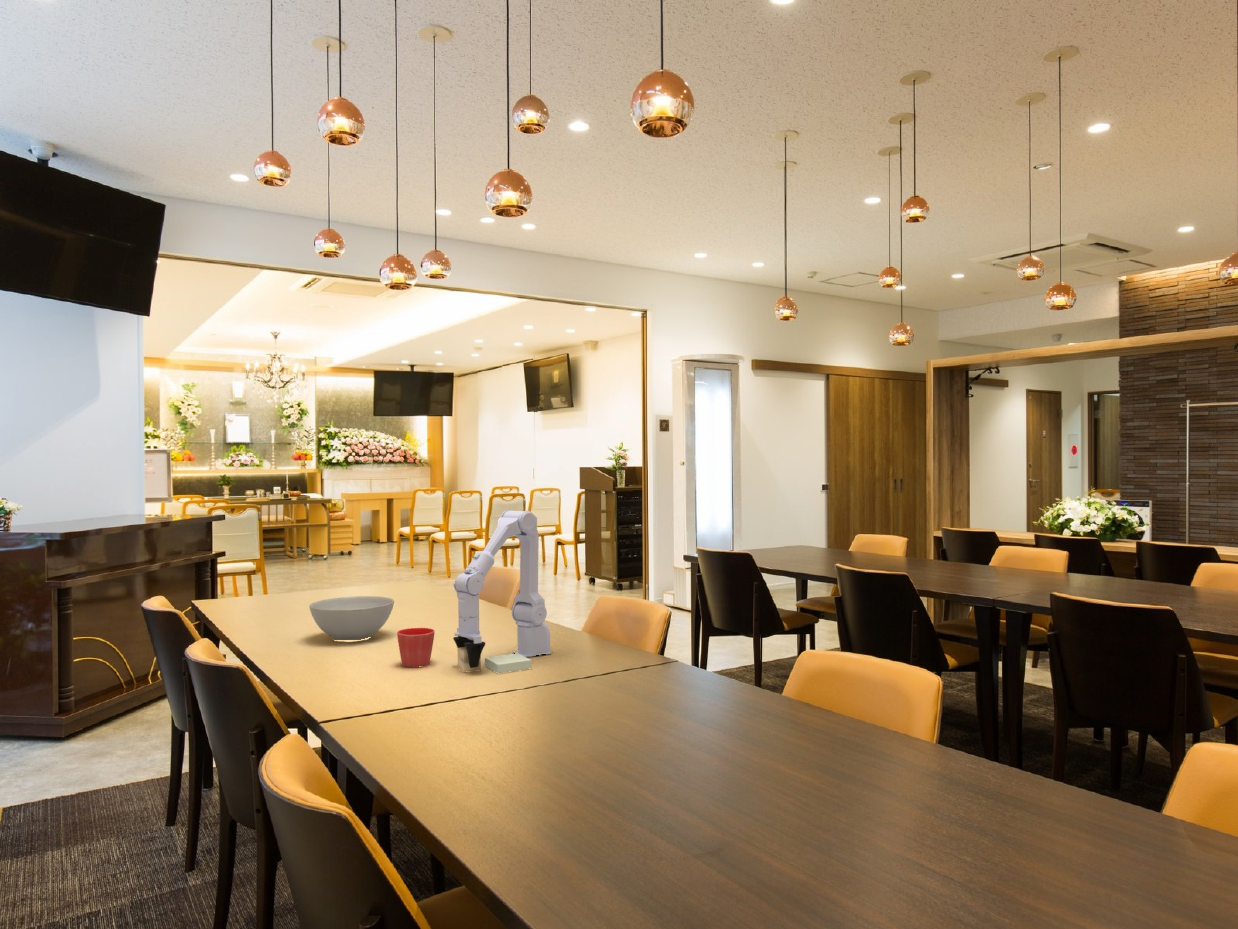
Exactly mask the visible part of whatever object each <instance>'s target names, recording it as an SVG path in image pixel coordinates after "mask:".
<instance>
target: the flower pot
mask: <svg viewBox="0 0 1238 929" xmlns="http://www.w3.org/2000/svg"><path fill="white" fill-rule="evenodd" d="M396 635H397V637H396V638H397V643H398V649H399V650H398V651H399V654H400V655H399V656H400V660H401V666H403V667H405V666H407V667H406V668H420V667H419V666H423V667H426V666H425V665H427V664H429V665H430V662H431V657H432V651H433V646H434V640H435V629H434V628H430V627H429V628H428V627H409V628H404V629H400V630H398V631H396ZM427 666H428V665H427Z"/></svg>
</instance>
